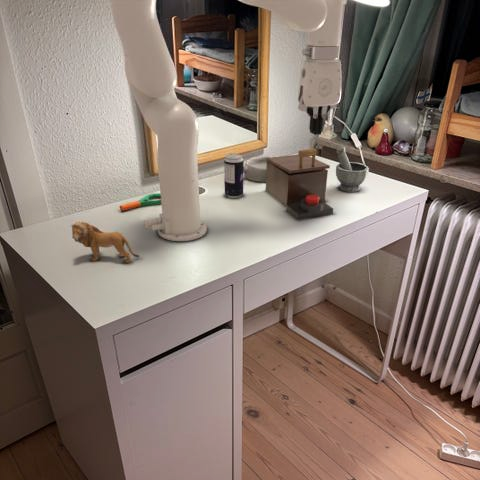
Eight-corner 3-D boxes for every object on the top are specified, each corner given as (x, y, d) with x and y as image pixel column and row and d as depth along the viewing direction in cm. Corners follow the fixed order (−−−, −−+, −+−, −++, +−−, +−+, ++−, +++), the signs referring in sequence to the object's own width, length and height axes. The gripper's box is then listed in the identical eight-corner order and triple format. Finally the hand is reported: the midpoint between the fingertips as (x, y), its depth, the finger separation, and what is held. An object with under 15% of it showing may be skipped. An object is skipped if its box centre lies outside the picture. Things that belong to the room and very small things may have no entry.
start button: (309, 206, 133) (310, 200, 132) (303, 201, 136) (303, 195, 135) (321, 204, 134) (321, 198, 133) (314, 200, 137) (315, 194, 136)
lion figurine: (74, 263, 112) (66, 227, 107) (80, 252, 116) (73, 217, 111) (137, 263, 112) (133, 227, 107) (141, 253, 116) (137, 217, 111)
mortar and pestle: (371, 188, 153) (377, 149, 147) (354, 196, 148) (360, 156, 141) (341, 180, 160) (345, 142, 153) (324, 187, 154) (328, 148, 147)
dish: (290, 173, 166) (291, 158, 163) (277, 185, 155) (278, 170, 152) (251, 167, 170) (251, 153, 167) (236, 180, 160) (236, 164, 157)
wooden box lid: (329, 168, 138) (331, 148, 135) (290, 173, 134) (290, 153, 131) (303, 156, 150) (304, 137, 147) (266, 160, 146) (266, 142, 143)
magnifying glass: (159, 195, 148) (159, 190, 147) (171, 201, 144) (171, 195, 143) (115, 208, 139) (115, 202, 138) (127, 214, 136) (126, 208, 135)
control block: (299, 221, 132) (300, 208, 130) (286, 210, 138) (287, 198, 136) (334, 215, 136) (335, 203, 134) (320, 205, 142) (321, 193, 140)
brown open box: (324, 201, 144) (328, 170, 139) (286, 207, 140) (288, 175, 135) (301, 185, 155) (303, 156, 150) (265, 190, 151) (266, 160, 146)
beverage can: (243, 199, 146) (243, 158, 139) (224, 199, 146) (223, 158, 139) (243, 192, 150) (243, 153, 143) (225, 192, 150) (224, 152, 143)
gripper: (302, 57, 111) (297, 139, 122) (357, 54, 116) (347, 134, 127) (287, 53, 117) (283, 132, 128) (340, 50, 122) (332, 127, 132)
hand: (315, 133), depth 127 cm, fingers closed
